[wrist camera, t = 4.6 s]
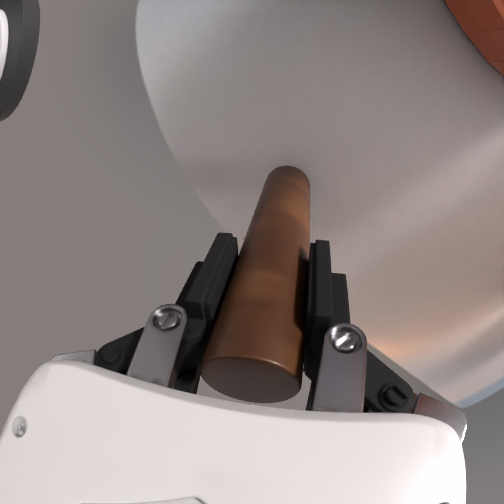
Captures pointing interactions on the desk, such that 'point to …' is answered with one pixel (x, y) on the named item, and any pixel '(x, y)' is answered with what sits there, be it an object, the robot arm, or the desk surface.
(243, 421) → the robot arm
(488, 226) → the desk surface
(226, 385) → the stick
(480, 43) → the mixing bowl
